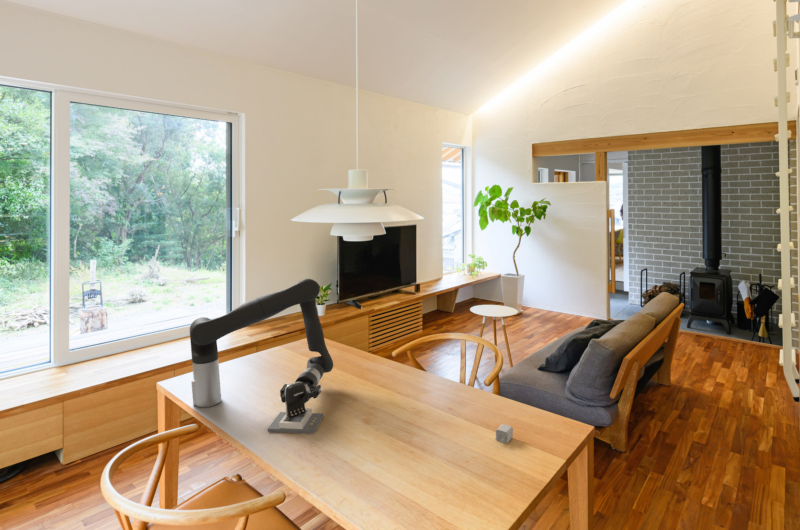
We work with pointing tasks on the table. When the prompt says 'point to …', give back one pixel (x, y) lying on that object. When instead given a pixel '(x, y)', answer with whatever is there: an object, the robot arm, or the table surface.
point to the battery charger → (295, 399)
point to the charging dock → (296, 423)
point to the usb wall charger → (504, 433)
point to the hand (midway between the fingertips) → (293, 400)
